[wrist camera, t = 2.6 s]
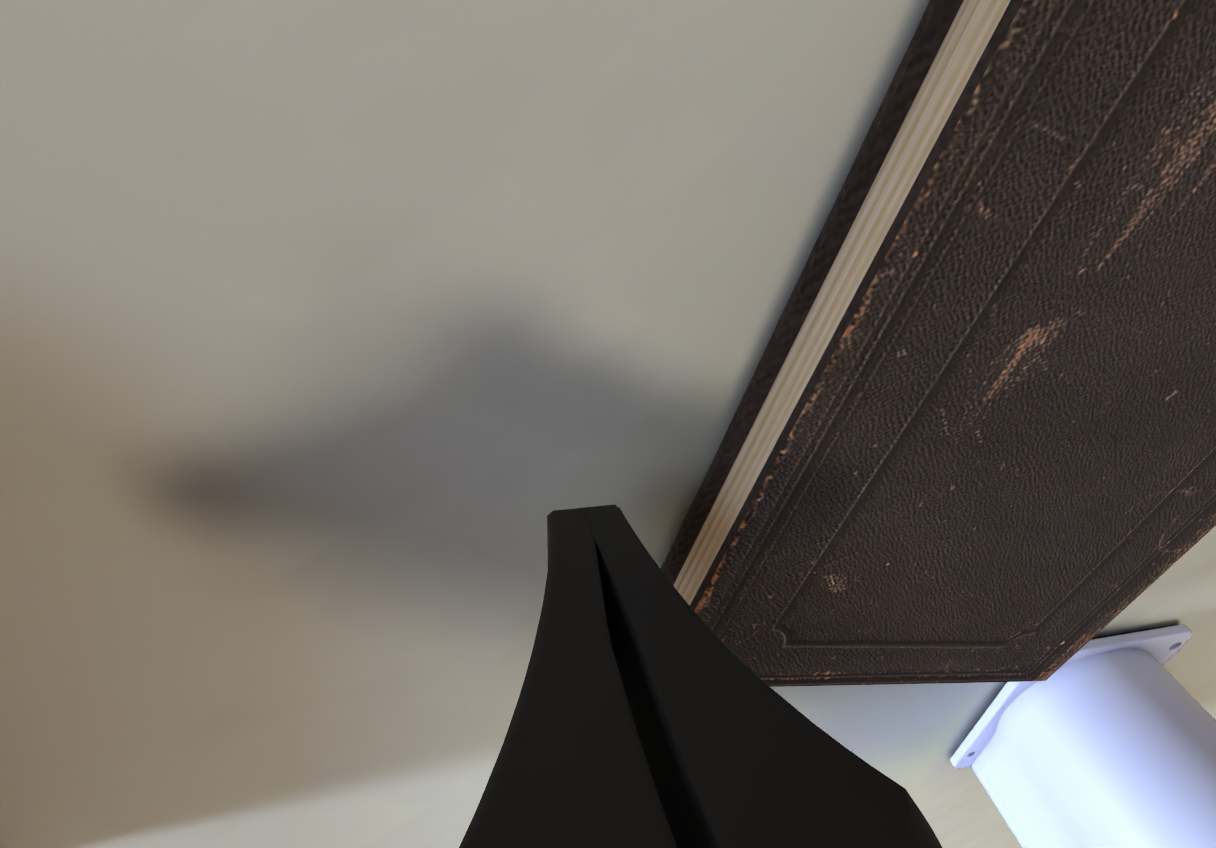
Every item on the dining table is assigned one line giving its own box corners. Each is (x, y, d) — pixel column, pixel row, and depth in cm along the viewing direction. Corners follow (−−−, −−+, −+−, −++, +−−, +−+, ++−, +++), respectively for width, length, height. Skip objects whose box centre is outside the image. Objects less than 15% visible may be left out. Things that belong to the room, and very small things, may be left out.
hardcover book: (634, 622, 20) (653, 690, 18) (1205, -592, 8) (1440, -762, 6) (1012, 628, 25) (1056, 681, 23) (1716, -94, 13) (1929, -102, 11)
